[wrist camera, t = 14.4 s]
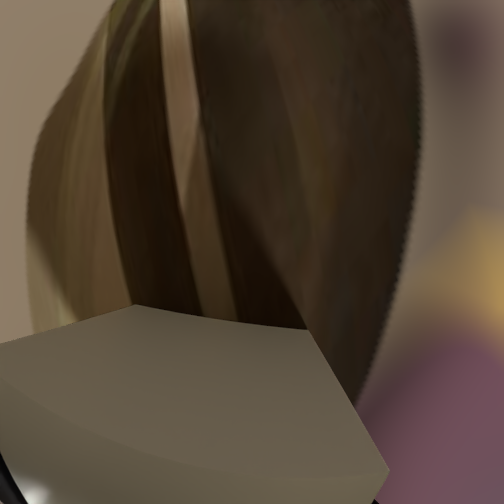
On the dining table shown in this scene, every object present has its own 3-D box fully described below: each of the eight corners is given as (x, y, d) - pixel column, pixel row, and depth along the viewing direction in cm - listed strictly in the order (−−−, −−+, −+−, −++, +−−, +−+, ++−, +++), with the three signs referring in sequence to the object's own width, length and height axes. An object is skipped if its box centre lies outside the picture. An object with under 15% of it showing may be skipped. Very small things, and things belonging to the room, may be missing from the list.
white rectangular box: (280, 464, 11) (283, 603, 2) (137, 437, 11) (53, 539, 3) (308, 330, 11) (389, 471, 2) (135, 304, 12) (-30, 351, 3)
